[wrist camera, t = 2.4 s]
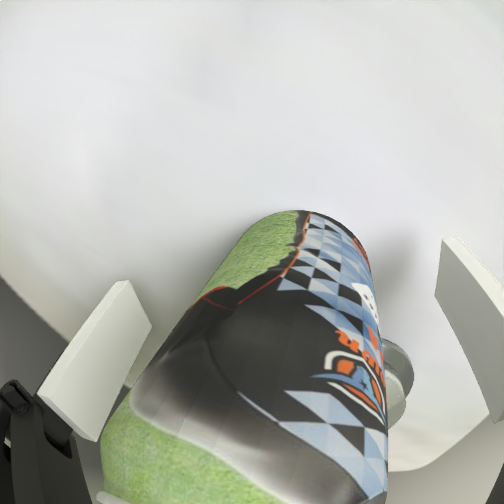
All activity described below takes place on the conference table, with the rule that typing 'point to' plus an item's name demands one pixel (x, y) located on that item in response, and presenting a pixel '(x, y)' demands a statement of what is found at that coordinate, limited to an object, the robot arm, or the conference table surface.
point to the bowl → (396, 379)
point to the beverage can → (263, 382)
